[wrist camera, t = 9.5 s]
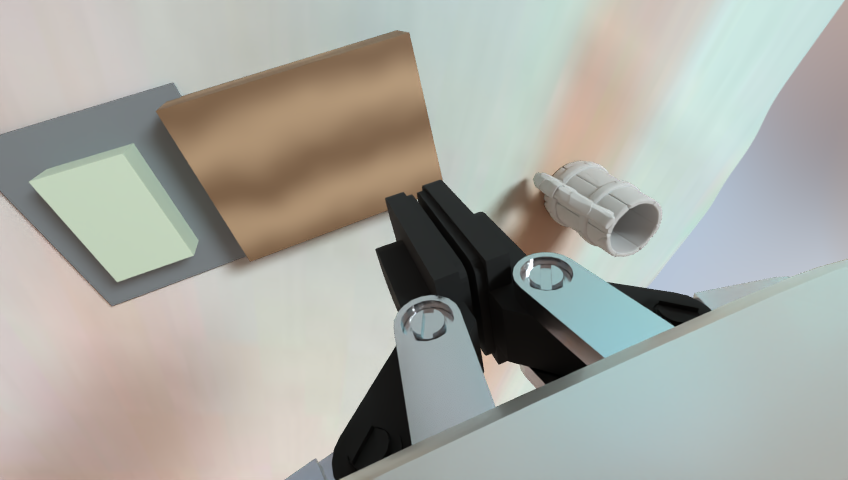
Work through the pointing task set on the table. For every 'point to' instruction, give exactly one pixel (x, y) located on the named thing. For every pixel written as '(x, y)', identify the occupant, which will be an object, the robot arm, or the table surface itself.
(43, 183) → the tile
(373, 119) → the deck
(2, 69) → the table surface
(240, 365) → the table surface
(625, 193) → the mug
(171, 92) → the mat
